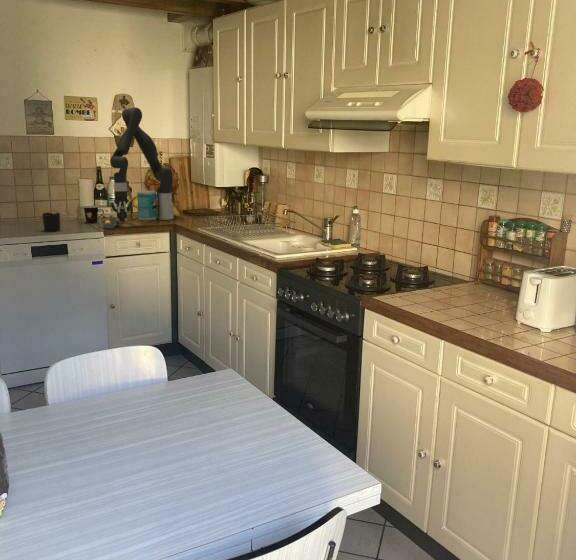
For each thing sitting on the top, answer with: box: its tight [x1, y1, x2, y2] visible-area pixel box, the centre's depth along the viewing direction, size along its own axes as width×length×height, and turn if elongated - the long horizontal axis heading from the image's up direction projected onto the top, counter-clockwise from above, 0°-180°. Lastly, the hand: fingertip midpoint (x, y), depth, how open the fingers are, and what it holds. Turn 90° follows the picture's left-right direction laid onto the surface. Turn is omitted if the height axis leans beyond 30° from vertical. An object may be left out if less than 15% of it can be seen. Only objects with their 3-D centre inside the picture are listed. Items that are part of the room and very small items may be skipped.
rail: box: [120, 220, 144, 228], centre depth 383 cm, size 14×8×2 cm, turn 125°
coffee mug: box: [83, 205, 105, 224], centre depth 387 cm, size 12×9×10 cm
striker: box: [110, 208, 130, 227], centre depth 378 cm, size 9×6×10 cm, turn 125°
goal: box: [97, 220, 115, 229], centre depth 374 cm, size 7×10×3 cm, turn 35°
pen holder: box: [42, 212, 61, 233], centre depth 359 cm, size 9×9×10 cm
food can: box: [136, 190, 158, 221], centre depth 404 cm, size 12×12×18 cm
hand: (122, 218), depth 379 cm, fingers closed on striker, 3 cm apart
